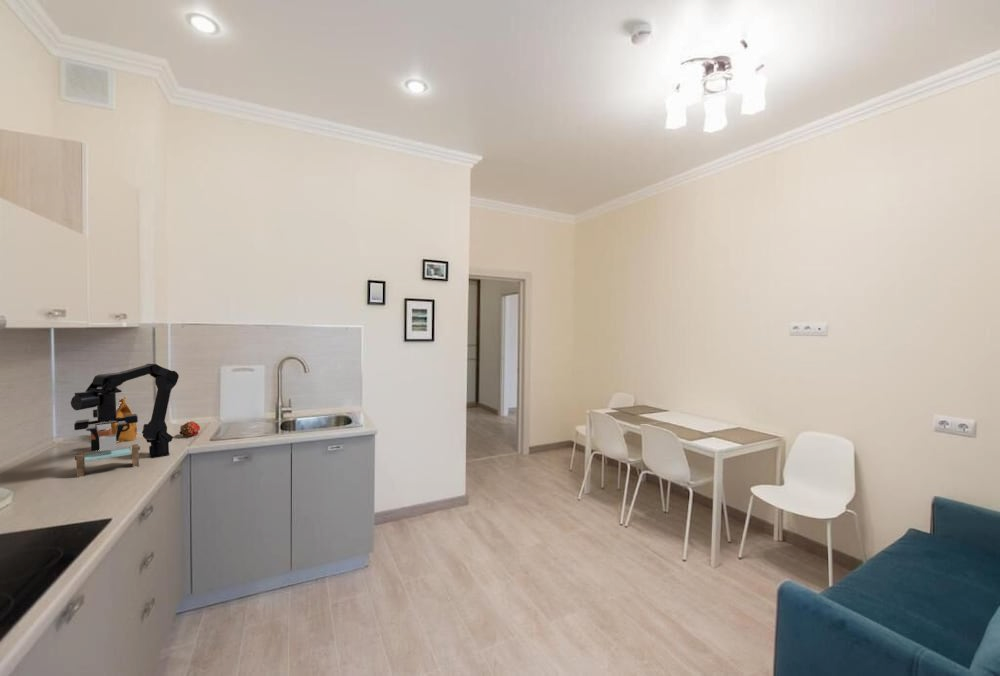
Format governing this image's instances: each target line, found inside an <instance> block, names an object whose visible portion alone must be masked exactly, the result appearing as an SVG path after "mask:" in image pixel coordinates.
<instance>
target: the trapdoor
mask: <svg viewBox="0 0 1000 676" xmlns="http://www.w3.org/2000/svg"><path fill="white" fill-rule="evenodd" d="M129 455H132V449H131V445H126V446H120V447H117V449H112V450H105V451H100V450H99V451H87V452H85V455H84V462H92V461H99V460H100V461H101V460H104V459H110V458H117V457H122V456H123V457H124V456H129Z"/></svg>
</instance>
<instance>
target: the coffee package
mask: <svg viewBox="0 0 1000 676" xmlns="http://www.w3.org/2000/svg"><path fill="white" fill-rule="evenodd" d="M123 397H124V398H123V399H121V400H120V399H118V403H119V402H122V403H121V404H120V406H119V408H118V409H117V410H116V411H117V418H122V417H125V415H130V414H132V412H131V410H130V409H129V407H128V406H127V404H126V403H125V399H126V400H127V398H126V397H125V396H123ZM117 427H118V423H110V429H112V435H114V434H117ZM137 427H138V426H137V422H136V423H129V424H128V423H127V426H124V427H123V429H122V431H121V433H120V436H119V438H118V441H124V442H129V441H128V440H130V441H134V440H133V439H136V437H137V436H138V428H137ZM136 435H137V436H136ZM116 442H117V441H116ZM117 443H118V442H117Z"/></svg>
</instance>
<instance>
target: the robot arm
mask: <svg viewBox="0 0 1000 676" xmlns="http://www.w3.org/2000/svg"><path fill="white" fill-rule="evenodd" d="M147 375H150V377H152V378H155V381H154V383H155V386H156V388H157V391H156V394H155V395H156V396H155V401H154V404H153V409H152V413H151V419H150V421H148V422H147V423H144V424H143V426H142V427H143V430H142V432H141V434H142V437H143V438H144V439H145V440H146V442H147V443H149V444H150V445H149V446H148V450H149V451H148V453H149V457H150V458H151V459H153V458H154V457H155V458H160V457H165V456H170V445H169V443H171V442H172V441H173V437H174V436H173V435H171V434H170V433H168V425H167V423H166V415H167V411H168V405H169V401H170V398H171V392H172V389H173V388H174V387H175V386H176V385H177V383H178V381H179V378H180V375H179V373H178V372H177V371H175V370H171V369H168V368H165V367H163V366H160V365H158V364H157V363H146V364H144V365H141V366H137V367H134V368H131V369H127V370H122V371H120V372H110V373H101V374H100V373H99V374H97V375H95V376H94V377H93V380H92V382H91V383H90V384H89V386H88V387H87V389H85V391H83V392H82V391H80V392H74V396H73V397H72V398H71V400H70V406H71V408H72V409H73V410H74V411H80V410H81V411H82V410H86V409H92V408H96V409H92V418H94V419H97V420H90V419H89V418H88V419H79V420H76V421H75V422H74V426H73V428H74V431H78V430H85V431H87V432H90V434H91V433H92V434H93V435H94V437H95V438H96V440H97V442H98V444H99V434H98V429H99V428H98V426H99V425H109V424H110V425H111V423H118V427H117V434H116V441H118V438H119V436H120V433H121V431H122V429H123V427H124V426H127V423H128V424H129V423H136V424H137V423H138V420H139V419H138V418H139V417H138V415H137V413H134V414H130V415H125V417H122V418H117V411H116V406H117V395H116V394H117V393H122V390H121V389H119V388H118V387H119V386H121V385H123V384H124V383H125V382H128V381H130V380H134V379H137V378H140V377H143V376H147Z"/></svg>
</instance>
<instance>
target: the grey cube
mask: <svg viewBox="0 0 1000 676" xmlns="http://www.w3.org/2000/svg"><path fill="white" fill-rule="evenodd" d="M117 443H118V442H116V434H114V435H107V436H100V438H99V446H100V451H105V450H112V449H117V448H118V447H117Z"/></svg>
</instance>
